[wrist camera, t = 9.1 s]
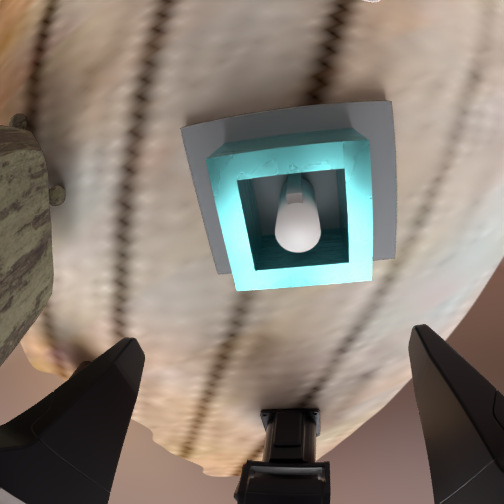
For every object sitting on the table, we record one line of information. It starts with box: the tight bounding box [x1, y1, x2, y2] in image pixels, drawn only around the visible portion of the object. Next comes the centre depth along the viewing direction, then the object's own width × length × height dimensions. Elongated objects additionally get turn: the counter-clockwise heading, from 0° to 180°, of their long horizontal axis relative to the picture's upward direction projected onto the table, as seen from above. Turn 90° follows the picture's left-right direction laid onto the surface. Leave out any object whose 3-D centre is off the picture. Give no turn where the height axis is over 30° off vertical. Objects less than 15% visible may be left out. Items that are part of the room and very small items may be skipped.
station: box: [180, 100, 397, 274], centre depth 16 cm, size 10×12×6 cm
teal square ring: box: [205, 128, 373, 291], centre depth 16 cm, size 7×7×4 cm
